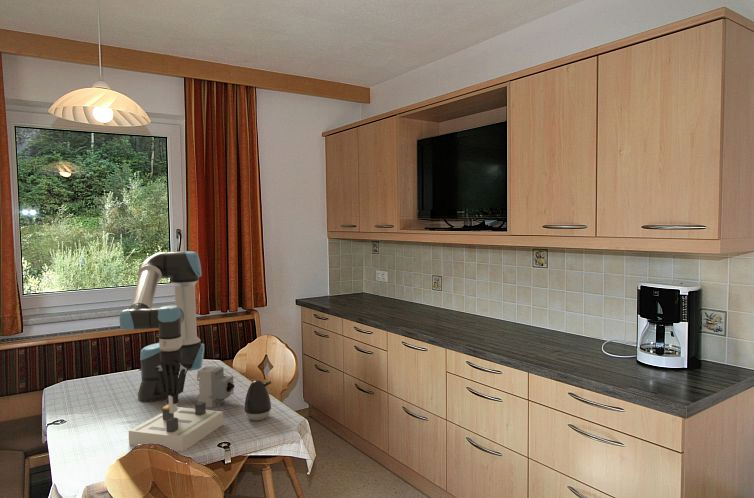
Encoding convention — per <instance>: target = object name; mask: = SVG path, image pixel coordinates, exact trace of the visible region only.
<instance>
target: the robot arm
mask: <svg viewBox="0 0 754 498" xmlns="http://www.w3.org/2000/svg"><path fill="white" fill-rule="evenodd" d="M202 274H203V273H202V265H201V259H200V256H199V253H197V252H196V251H190V250H189V251H188V250H185V251H184V250H183V251H161V252H157V253H154V254H153V255H150V256H149V257H147V258H146V259H145V260H144V261H143V262H142V263H141V264H140V266H139V268H138V271H137V278H138V279H137V283H136V286H135V289H134V293H133V296H132V299H131V301H130V306H129V307H128V308H127V309H122V310H121V311H120V313H119V326H120V328H121V329H122V330H124V331H129V330H130V331H131V330H132V331H136V330H148V329H158V340H159V341H158V342H157V343H151V344H149V345H146V346H144V347H143V348H142V349H141V350H140V358H139V360H140V374H141V375H140V376H141V377H140V378H141V380H140V381H141V382H140V385H139V389H138V392H137V400H138V401H140V402H146V403H150V402H159V401H164V400H166V403H167V404H168V405H169V413H172V414H173V413H174V412H176V411H177V407H178V404H179V394H182V393H183V392H184V389H185V388H184V387H185V382H186V377H187V373H188V372H189V371H190V372H192V371H199V370H201V369H202V368H203V362H204V354H205V344H204V343H201V341H202V340H201V339H200V337H198V332H197V330H198V329H197V328H198V327H197V304H196V301H197V300H196V284H197V283H198V282H199V278H200V277H202ZM162 279H170V283H171V284H172V285H173V286H174V301H175V304H174V305H164V306H160V307H157V308H155V307H154V308H152V306H153V303H154V298H155V294H156V291H157V286H158V283H159V282H160V281H162Z"/></svg>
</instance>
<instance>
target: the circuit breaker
mask: <svg viewBox="0 0 754 498" xmlns="http://www.w3.org/2000/svg"><path fill="white" fill-rule="evenodd" d="M196 371H197V374H196V382H198V386H199V394H198V395H197V403H199V402H205V404H206V408H217V407H218V406H219V405H221V404H222V403H223V402H225V399H227V398H229V397H230V396H232V395H233V394H234V393H235V392H234V391H235V389H234V388H235V384H234V376H233V375H224V374H225V372H224V367H223V366H209V365H208V366H205V367H202V368H200V369H198V370H196Z"/></svg>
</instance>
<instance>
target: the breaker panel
mask: <svg viewBox="0 0 754 498" xmlns="http://www.w3.org/2000/svg"><path fill="white" fill-rule="evenodd" d="M206 408H207V407H206V404H205V402H199V403H198V402H197V403H195V404H194V408H193V407H182V406H181V407H180V406H177V411H176V412H174V417H172V418H170V419H168V420H163V412H162V413H159V414H157V415H155V416H154V417H151V418H150V419H148V420H146V421H144V422H142V423H141V424H138V425H137V426H134V427H133V428H131V429H129V430H128V445H129V444H130V445H129V446H135V445H138V444H146V443H155V444H161V445H164V446H167V447H169V448H171V449H173V450H174V451H175V452H182V453H183V452H184V451H186V450H188V449H189V448H191V447H192V446H193V445H195V444H197V442H199V441H201V440H203V439H204V438H205V437H207V436H208V435H210V434H212V433H213V432H214V431H216V430H217V429H219V428H220V427H222V426H223V425H224V411H223V410H221V411H219V410H211V409H206ZM173 450H172V451H173Z"/></svg>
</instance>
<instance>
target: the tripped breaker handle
mask: <svg viewBox="0 0 754 498" xmlns="http://www.w3.org/2000/svg"><path fill="white" fill-rule="evenodd" d="M162 413H163V420H168V419H170V418H172V417H174V413H173V414H172V413H169V404H166V405H164V406H163V407H162Z"/></svg>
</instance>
